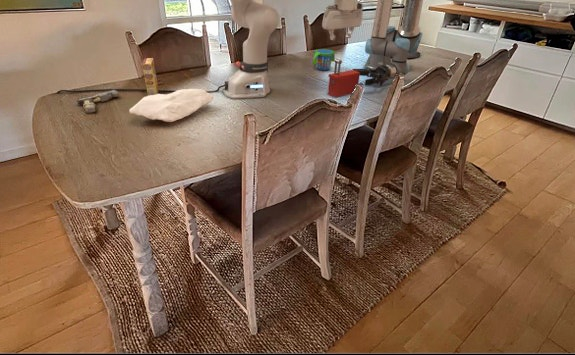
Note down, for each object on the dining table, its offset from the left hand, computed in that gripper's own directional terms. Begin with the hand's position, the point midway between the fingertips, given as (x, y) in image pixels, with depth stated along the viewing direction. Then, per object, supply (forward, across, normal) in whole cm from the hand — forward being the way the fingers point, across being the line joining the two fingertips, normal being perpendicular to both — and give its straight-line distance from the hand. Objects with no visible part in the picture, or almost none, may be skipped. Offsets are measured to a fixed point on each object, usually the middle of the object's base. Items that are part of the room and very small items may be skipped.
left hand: (340, 38), depth 162 cm
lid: (+17, +5, 0) cm, 18 cm away
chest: (+26, +5, 0) cm, 27 cm away
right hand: (+20, +12, -1) cm, 23 cm away
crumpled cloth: (+26, -74, +16) cm, 80 cm away
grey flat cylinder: (+26, +93, +44) cm, 106 cm away
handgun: (+26, -96, +41) cm, 108 cm away
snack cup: (+26, +23, +36) cm, 50 cm away
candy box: (+26, -74, +41) cm, 89 cm away
